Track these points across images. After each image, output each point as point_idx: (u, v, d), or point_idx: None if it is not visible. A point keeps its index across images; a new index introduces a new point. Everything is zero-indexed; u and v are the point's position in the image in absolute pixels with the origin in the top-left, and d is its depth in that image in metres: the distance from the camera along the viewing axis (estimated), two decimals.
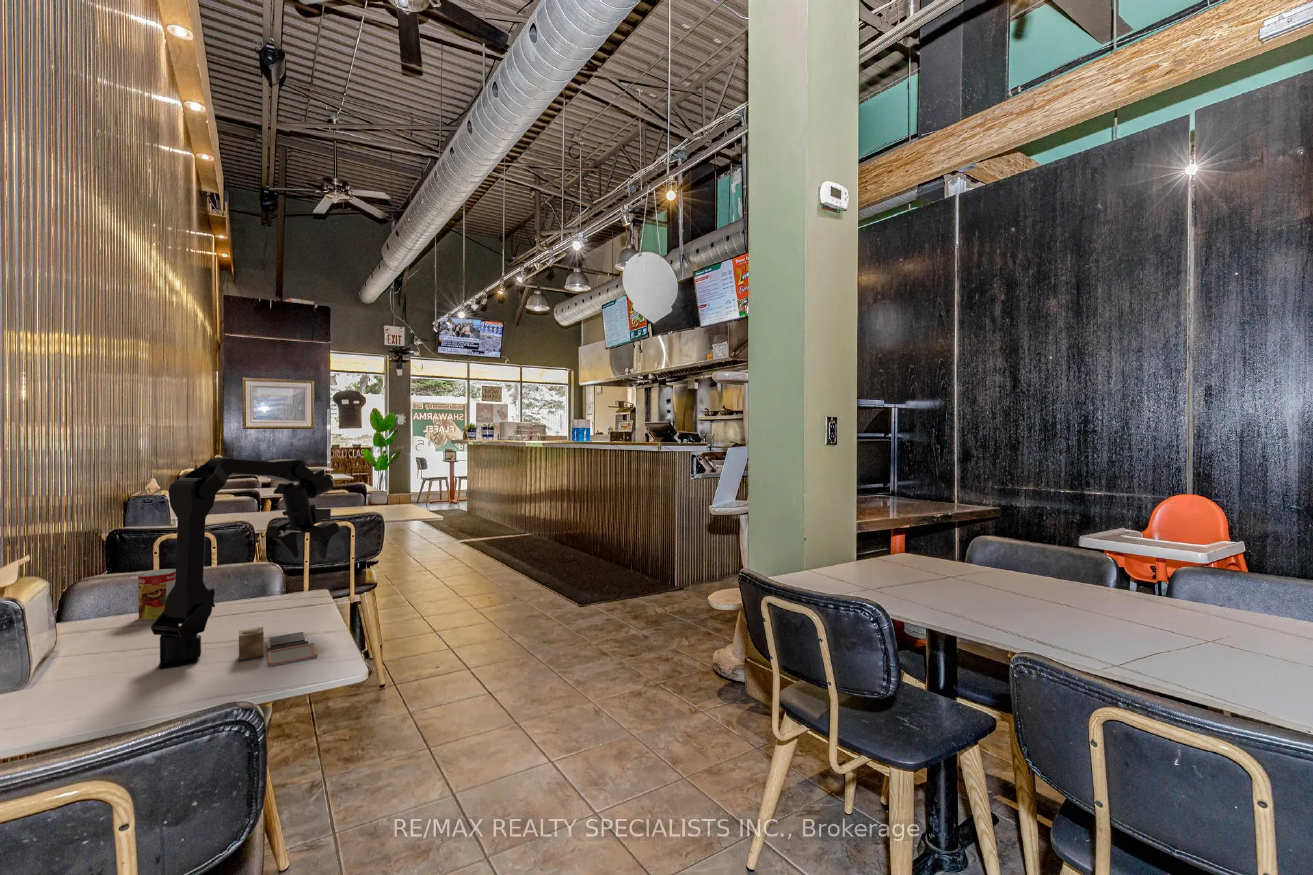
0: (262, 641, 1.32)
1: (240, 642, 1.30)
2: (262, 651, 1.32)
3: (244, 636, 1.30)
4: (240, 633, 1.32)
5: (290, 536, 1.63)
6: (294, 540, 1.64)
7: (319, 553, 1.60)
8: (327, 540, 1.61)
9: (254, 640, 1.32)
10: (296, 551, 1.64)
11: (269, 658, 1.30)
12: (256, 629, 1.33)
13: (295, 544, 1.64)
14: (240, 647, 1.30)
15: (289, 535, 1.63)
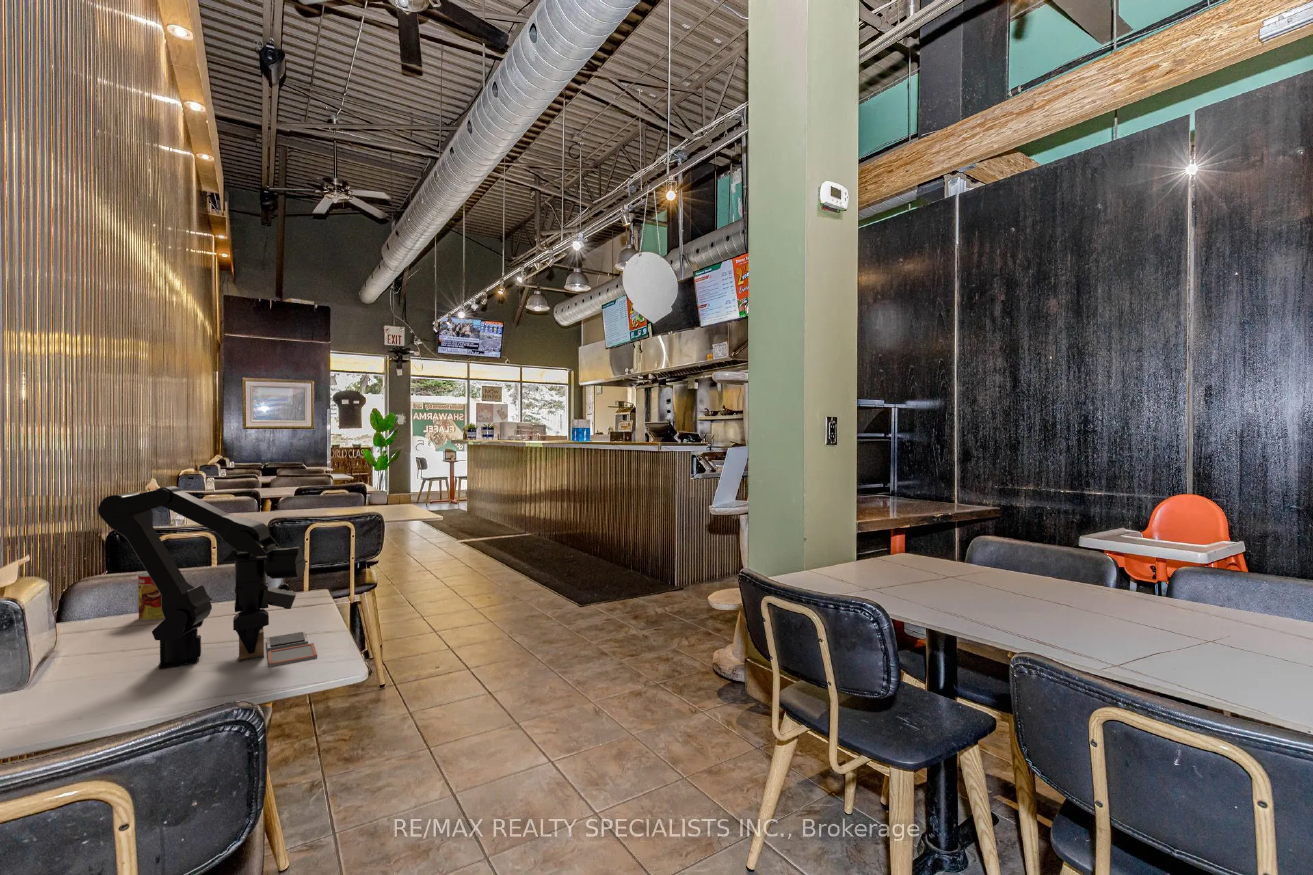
0: (262, 641, 1.32)
1: (240, 642, 1.30)
2: (262, 651, 1.32)
3: None
4: None
5: None
6: None
7: None
8: (256, 630, 1.30)
9: None
10: None
11: (269, 658, 1.30)
12: None
13: None
14: (240, 647, 1.30)
15: None
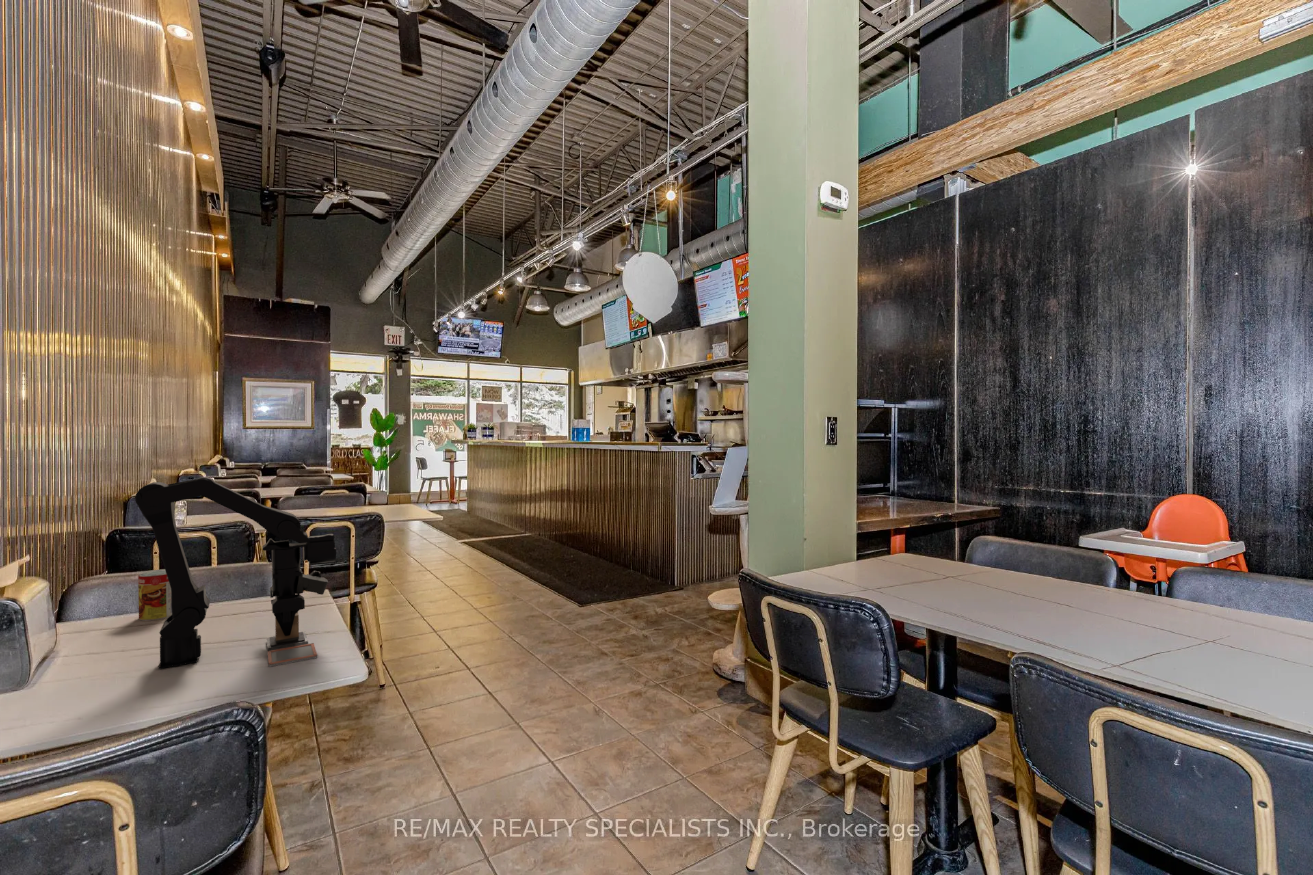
0: (297, 623, 1.41)
1: (277, 624, 1.38)
2: (297, 633, 1.41)
3: None
4: None
5: None
6: None
7: None
8: (292, 614, 1.39)
9: None
10: None
11: (269, 658, 1.30)
12: None
13: None
14: (277, 629, 1.39)
15: None
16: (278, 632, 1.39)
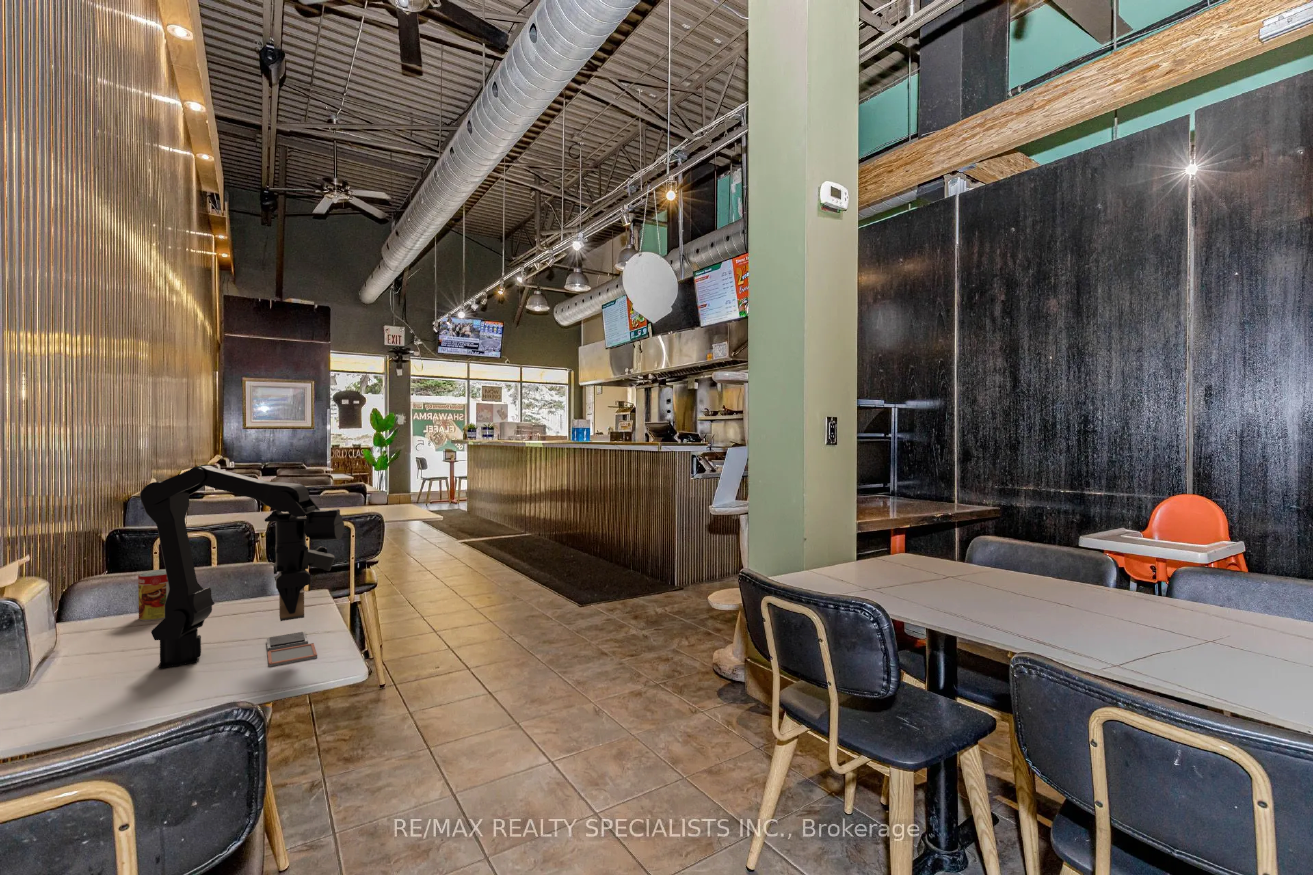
0: (303, 601, 1.33)
1: (281, 601, 1.30)
2: (302, 611, 1.33)
3: None
4: None
5: None
6: None
7: None
8: (297, 591, 1.31)
9: None
10: None
11: (269, 658, 1.30)
12: None
13: None
14: (281, 606, 1.31)
15: None
16: (282, 609, 1.31)
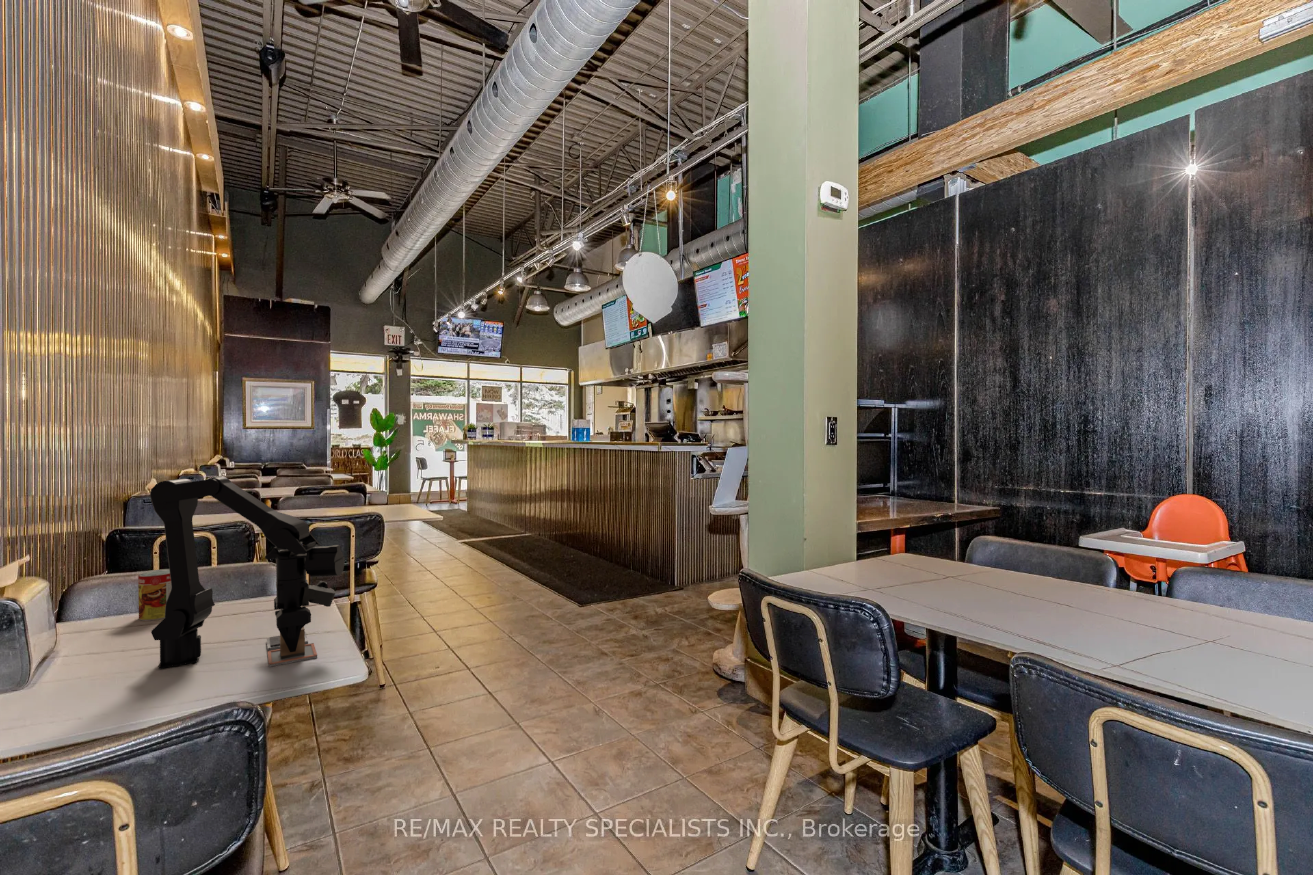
0: (303, 638, 1.33)
1: (282, 639, 1.31)
2: (303, 648, 1.33)
3: None
4: None
5: None
6: None
7: (285, 642, 1.30)
8: (298, 629, 1.30)
9: None
10: None
11: (269, 658, 1.30)
12: None
13: None
14: (282, 644, 1.31)
15: None
16: (283, 647, 1.31)
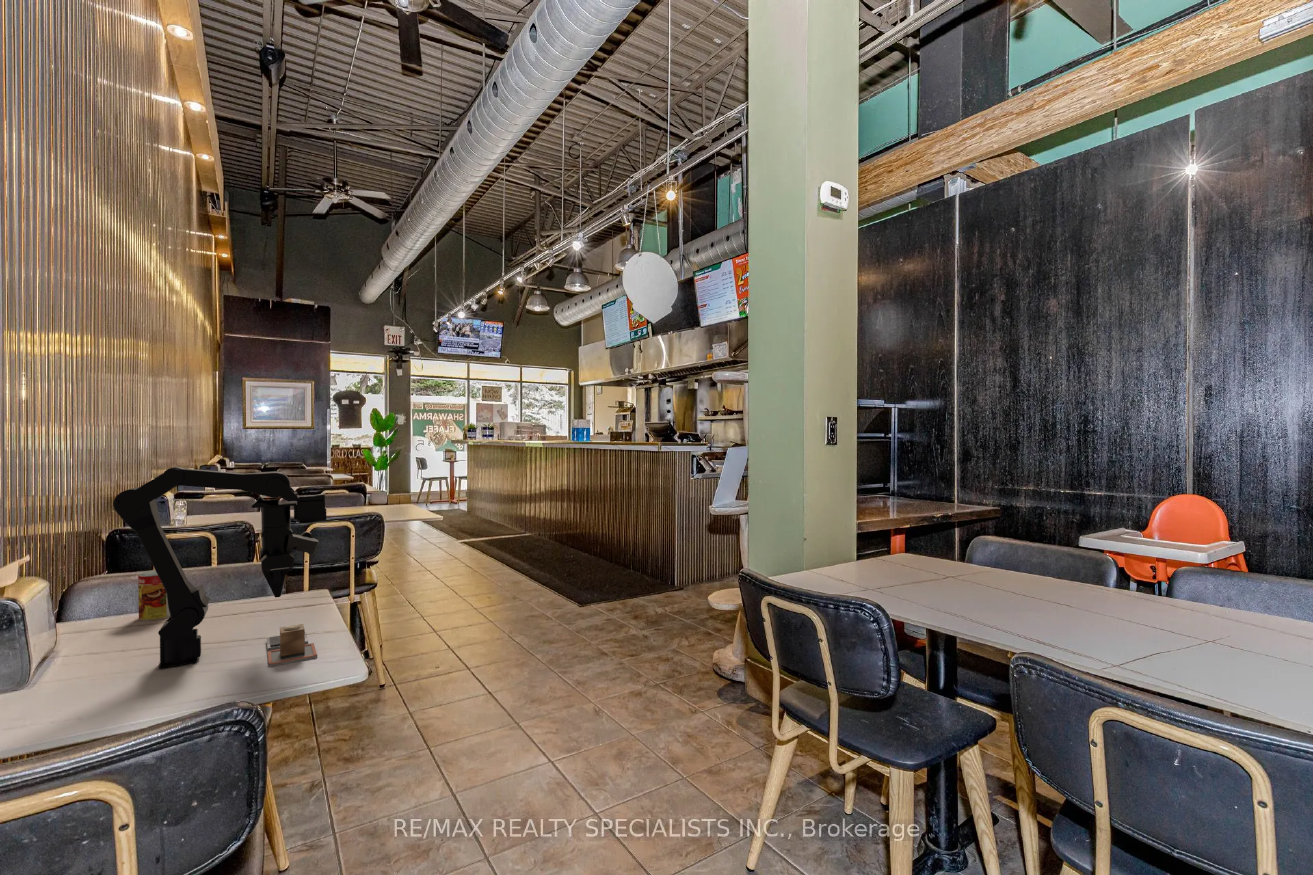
0: (303, 638, 1.33)
1: (282, 639, 1.31)
2: (303, 648, 1.33)
3: (285, 633, 1.31)
4: (281, 630, 1.32)
5: None
6: None
7: None
8: (282, 575, 1.35)
9: (296, 637, 1.32)
10: None
11: (269, 658, 1.30)
12: (297, 626, 1.34)
13: None
14: (282, 644, 1.31)
15: None
16: (283, 647, 1.31)
